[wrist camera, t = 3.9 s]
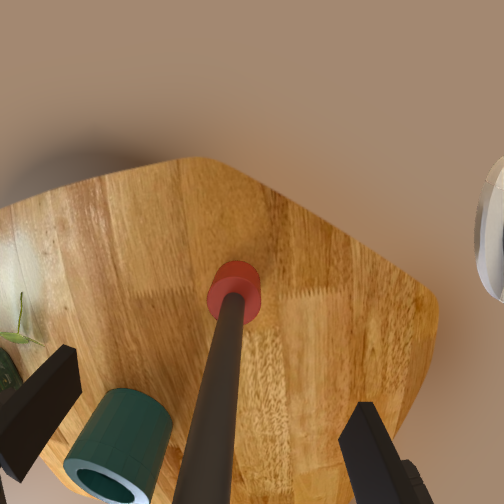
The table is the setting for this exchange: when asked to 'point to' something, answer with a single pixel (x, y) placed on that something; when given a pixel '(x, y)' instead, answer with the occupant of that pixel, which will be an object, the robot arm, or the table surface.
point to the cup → (121, 448)
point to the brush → (219, 389)
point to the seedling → (16, 336)
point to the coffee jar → (8, 373)
